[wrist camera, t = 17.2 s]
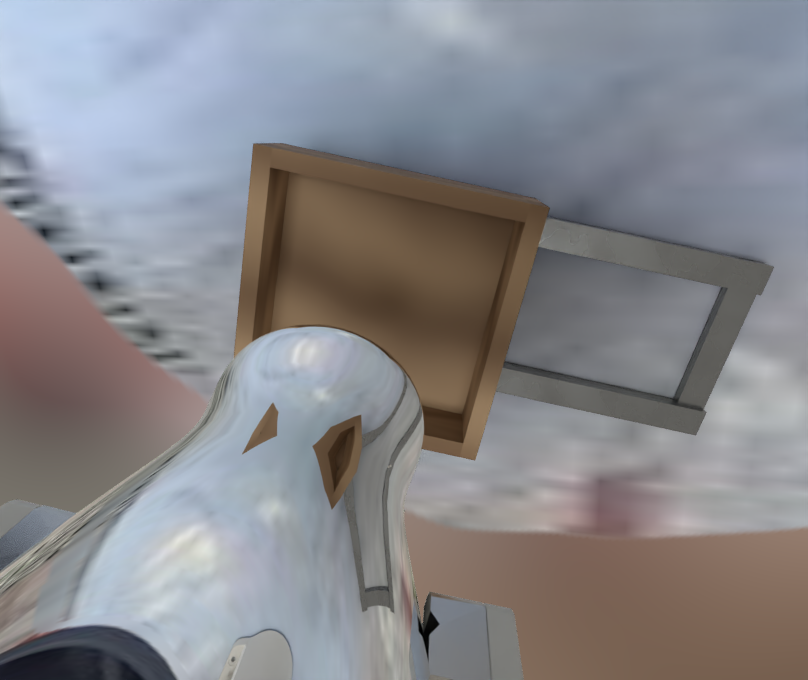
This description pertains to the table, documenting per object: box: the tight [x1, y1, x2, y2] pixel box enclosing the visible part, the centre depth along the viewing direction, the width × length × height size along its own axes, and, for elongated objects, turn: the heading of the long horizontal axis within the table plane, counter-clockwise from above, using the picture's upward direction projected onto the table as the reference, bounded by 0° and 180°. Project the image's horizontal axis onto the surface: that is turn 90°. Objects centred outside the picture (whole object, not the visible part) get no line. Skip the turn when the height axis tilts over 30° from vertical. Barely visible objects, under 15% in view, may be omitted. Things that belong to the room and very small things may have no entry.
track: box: [496, 216, 774, 435], centre depth 30 cm, size 11×27×2 cm, turn 78°
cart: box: [234, 143, 550, 460], centre depth 27 cm, size 13×13×6 cm
